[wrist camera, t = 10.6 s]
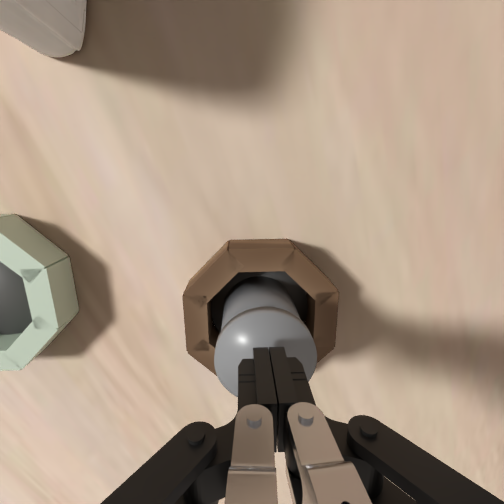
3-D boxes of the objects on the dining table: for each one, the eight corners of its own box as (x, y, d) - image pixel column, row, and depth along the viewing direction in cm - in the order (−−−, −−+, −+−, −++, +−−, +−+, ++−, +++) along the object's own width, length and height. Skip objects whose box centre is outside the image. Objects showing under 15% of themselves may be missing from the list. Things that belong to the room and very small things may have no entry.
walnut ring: (186, 240, 20) (178, 250, 18) (330, 238, 20) (342, 246, 18) (194, 366, 23) (189, 389, 20) (322, 361, 23) (332, 384, 21)
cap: (219, 274, 20) (211, 315, 14) (296, 272, 20) (319, 311, 15) (222, 343, 22) (216, 405, 16) (294, 340, 22) (314, 401, 16)
